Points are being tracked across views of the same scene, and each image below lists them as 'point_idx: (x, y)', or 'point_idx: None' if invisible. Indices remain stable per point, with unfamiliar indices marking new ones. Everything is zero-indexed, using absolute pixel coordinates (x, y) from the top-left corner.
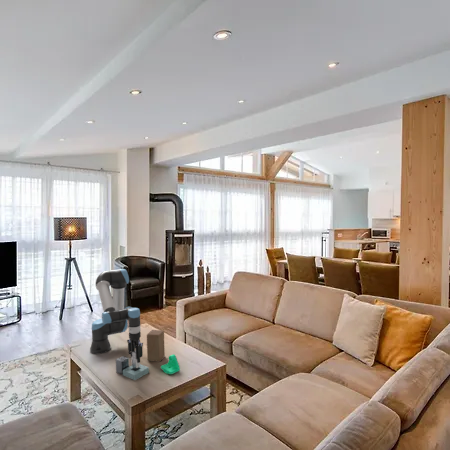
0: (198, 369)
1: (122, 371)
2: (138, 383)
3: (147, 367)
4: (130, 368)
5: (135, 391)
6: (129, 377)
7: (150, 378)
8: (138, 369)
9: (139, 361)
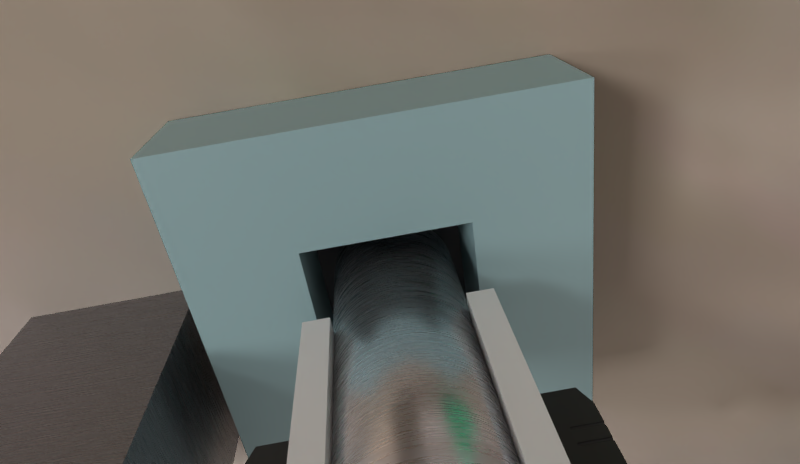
0: None
1: (230, 437)
2: (675, 354)
3: (568, 102)
4: None
5: (779, 448)
6: None
7: (741, 159)
8: (457, 275)
9: (595, 429)
